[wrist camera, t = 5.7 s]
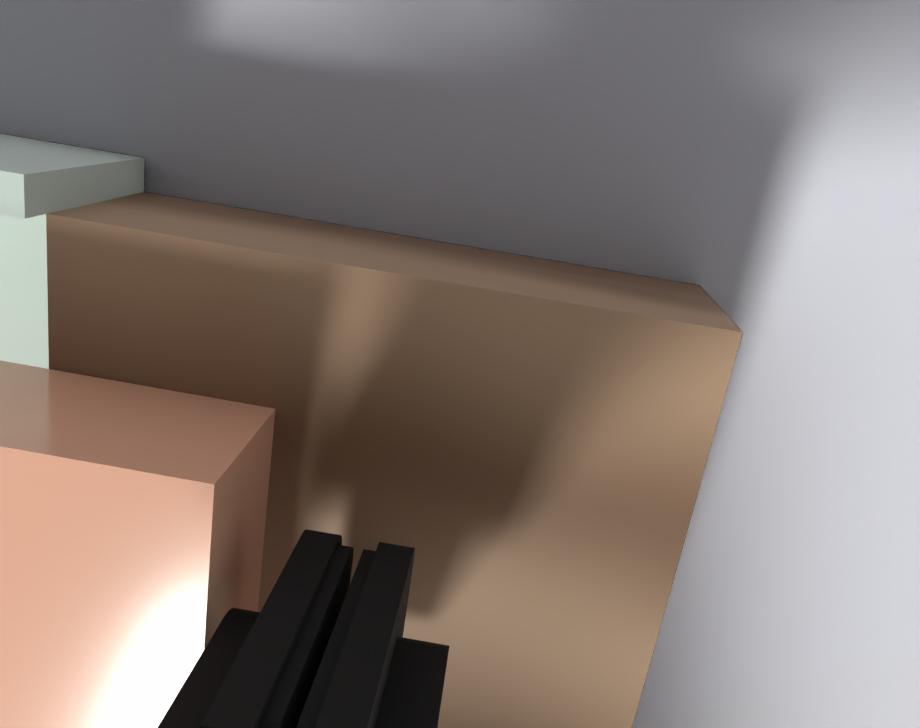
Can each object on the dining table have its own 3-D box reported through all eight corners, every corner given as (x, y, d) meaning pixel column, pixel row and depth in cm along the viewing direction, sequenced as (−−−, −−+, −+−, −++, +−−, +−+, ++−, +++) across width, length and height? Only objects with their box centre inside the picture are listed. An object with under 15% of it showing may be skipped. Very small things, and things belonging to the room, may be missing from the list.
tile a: (-46, 352, 12) (-185, 412, 10) (275, 408, 12) (214, 484, 10) (-31, 623, 14) (-148, 732, 11) (251, 675, 14) (195, 797, 11)
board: (143, 191, 14) (46, 213, 11) (699, 285, 14) (742, 332, 11) (128, 908, 20) (61, 1042, 17) (519, 987, 20) (517, 1137, 17)
